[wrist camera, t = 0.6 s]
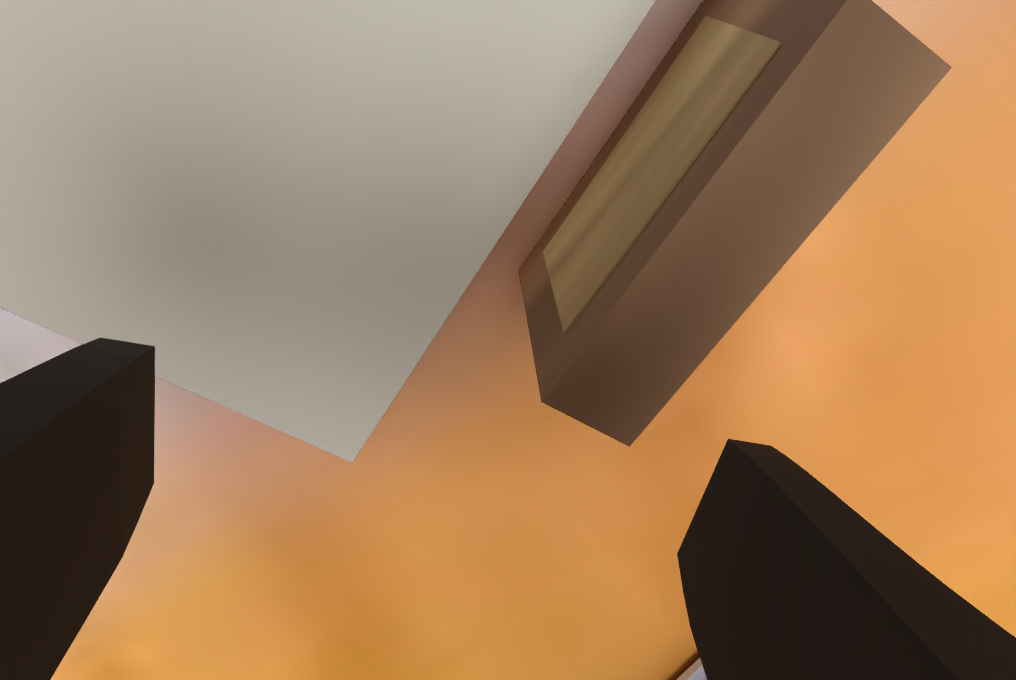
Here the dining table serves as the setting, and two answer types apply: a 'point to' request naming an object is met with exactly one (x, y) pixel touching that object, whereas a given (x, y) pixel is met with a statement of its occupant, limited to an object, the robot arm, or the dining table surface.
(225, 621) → the dining table surface
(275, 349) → the mat
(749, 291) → the tile
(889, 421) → the dining table surface
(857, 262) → the dining table surface
